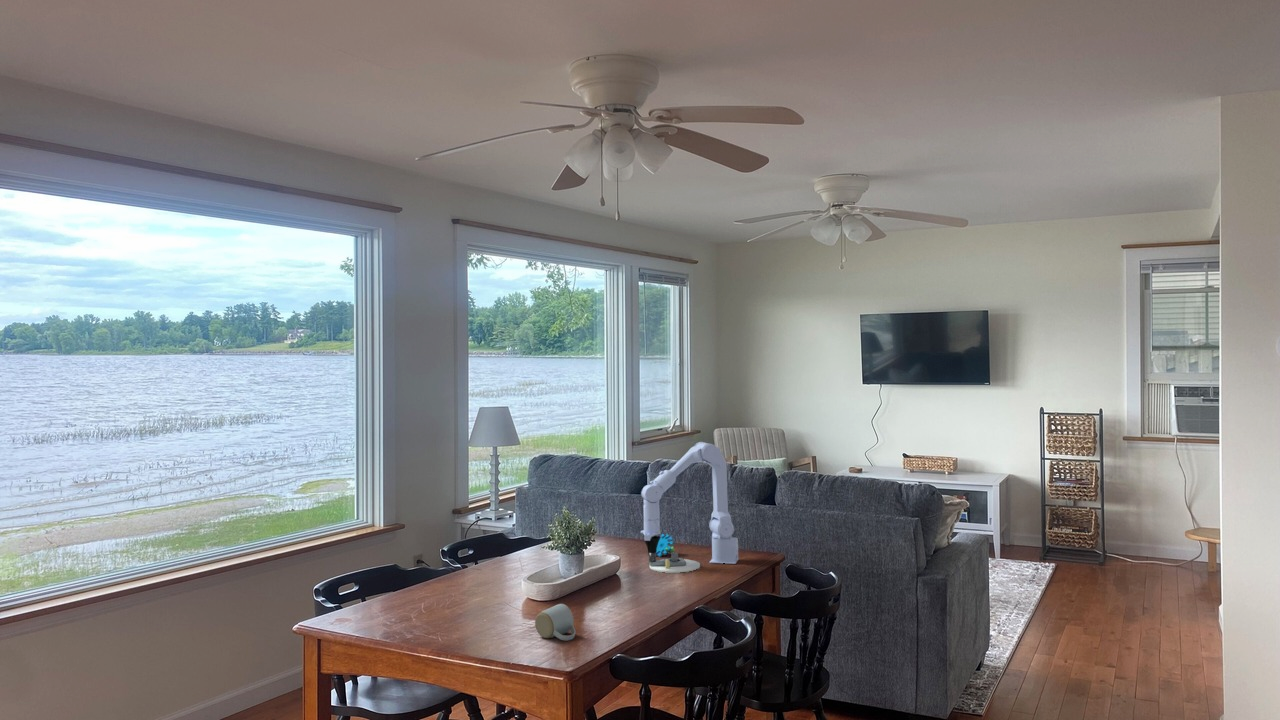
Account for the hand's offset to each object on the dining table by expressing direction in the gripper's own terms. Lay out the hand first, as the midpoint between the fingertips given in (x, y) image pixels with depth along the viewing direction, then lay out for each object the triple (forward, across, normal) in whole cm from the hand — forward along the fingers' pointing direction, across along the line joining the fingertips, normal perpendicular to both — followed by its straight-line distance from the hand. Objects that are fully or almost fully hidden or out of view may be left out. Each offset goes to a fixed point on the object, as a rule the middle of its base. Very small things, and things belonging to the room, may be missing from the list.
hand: (652, 557), depth 310 cm
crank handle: (+2, 0, +5) cm, 6 cm away
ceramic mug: (+4, +82, -6) cm, 82 cm away
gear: (+4, -20, -1) cm, 20 cm away
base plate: (+4, -2, +8) cm, 9 cm away
